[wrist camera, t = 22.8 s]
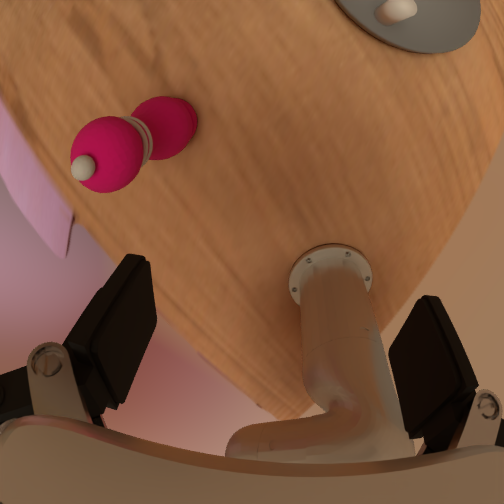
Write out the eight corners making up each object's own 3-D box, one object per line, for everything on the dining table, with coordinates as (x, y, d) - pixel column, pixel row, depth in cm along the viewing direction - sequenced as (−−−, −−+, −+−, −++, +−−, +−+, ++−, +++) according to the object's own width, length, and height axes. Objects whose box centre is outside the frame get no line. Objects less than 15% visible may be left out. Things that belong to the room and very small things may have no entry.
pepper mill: (137, 114, 33) (26, 159, 16) (182, 83, 31) (83, 96, 14) (165, 159, 36) (76, 236, 19) (212, 131, 34) (141, 189, 17)
